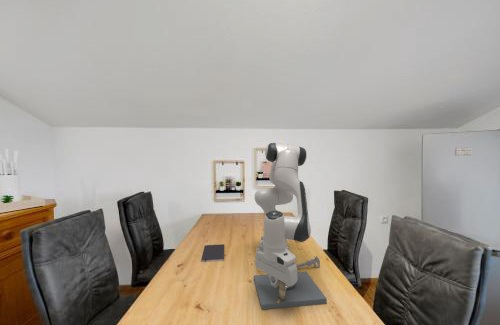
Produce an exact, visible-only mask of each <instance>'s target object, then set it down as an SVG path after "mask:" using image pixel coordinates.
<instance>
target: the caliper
mask: <svg viewBox="0 0 500 325" xmlns="http://www.w3.org/2000/svg"><path fill="white" fill-rule="evenodd" d="M313 257H314V258H312V259H309V260H306V261H304V262H301V263H297V264H296V266H297V269H299V268H303V267H306V266H307V267H311V266H314V268H316V269H317V268H321V261H320V258H319V256H318V255H316V256H313Z"/></svg>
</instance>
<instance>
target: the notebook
mask: <svg viewBox="0 0 500 325" xmlns="http://www.w3.org/2000/svg"><path fill="white" fill-rule="evenodd" d="M200 260H201V262H202V263H203V262H205V263H207V262H217V261H219V262H220V261H221V262H223V261H225V244H223V243H222V244H204V247H203V250H202V256H201V259H200Z"/></svg>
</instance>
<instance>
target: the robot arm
mask: <svg viewBox="0 0 500 325" xmlns="http://www.w3.org/2000/svg"><path fill="white" fill-rule="evenodd" d="M264 152H265V153H264V154H265V155H264V156H265V159H266V160H267V161H268V162H270V163H271V167H270V172H269V175H268V177H269V181H270V183H272V184H273V185H274V187H266V188H264V187H263V188H260V189H258V190H256V192H255V194H254V201H255V203H256V205H258V206H259V207H260V208H261V209H262V210H263V212H264V221H263V232H262V233H263V235H262V236H260V240H259V246H257V247H256V251H255V252H256V253H255V260H254V265H255V268H256V269H258V270H260V271H262V272H263V273H265V274H268V276H269V279H270V281H271V285H272V286H273V287H275V288H277V287H278V283H279V280H280V281H282V282H284V283H286V284H287V285H289V286H292V285H294V284H295V283H296V282H297V272H298V268H297V266H296V265H297V264H296V262H297V257H296V255H295V254H294V253H293V252H291V251H290V250H289V249H290V247H289V246H288V244H287V240H290V241H296V242H299V243H304V242H306V241H308V239H310V237H311V233H312V229H311V223H310V219H309V211H308V210H309V209H308V202H307V201H308V200H307V193H306V187H305V184H304V182H303V181H301V180H300V177H299V167H301V166H303V165H304V164H305V162H306V160H307V150H306V148H304V147H301V146H297V145H293V144H290V143H289V144H285V143H276V142H269V144H268V145H267V146H266V149H265V151H264ZM294 196H295V198H296V204H297V216H291V215H290V216H289V215H284V213H283V212H282V211H280V210H279V211H278V210H277V209H276V206H280V205H281V206H282V205H286V204H289V203H291V202H293V199H294ZM274 277H275V279H274ZM275 280H276V281H275Z"/></svg>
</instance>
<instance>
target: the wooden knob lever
mask: <svg viewBox="0 0 500 325" xmlns="http://www.w3.org/2000/svg"><path fill="white" fill-rule="evenodd" d="M278 286H279V299H281V300H285V299H286V291H287V289H292V288H294V287H295V284H294V285H292V286H289V285H287V284H286V283H284V282H282V281H280V280H279V283H278Z"/></svg>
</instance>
